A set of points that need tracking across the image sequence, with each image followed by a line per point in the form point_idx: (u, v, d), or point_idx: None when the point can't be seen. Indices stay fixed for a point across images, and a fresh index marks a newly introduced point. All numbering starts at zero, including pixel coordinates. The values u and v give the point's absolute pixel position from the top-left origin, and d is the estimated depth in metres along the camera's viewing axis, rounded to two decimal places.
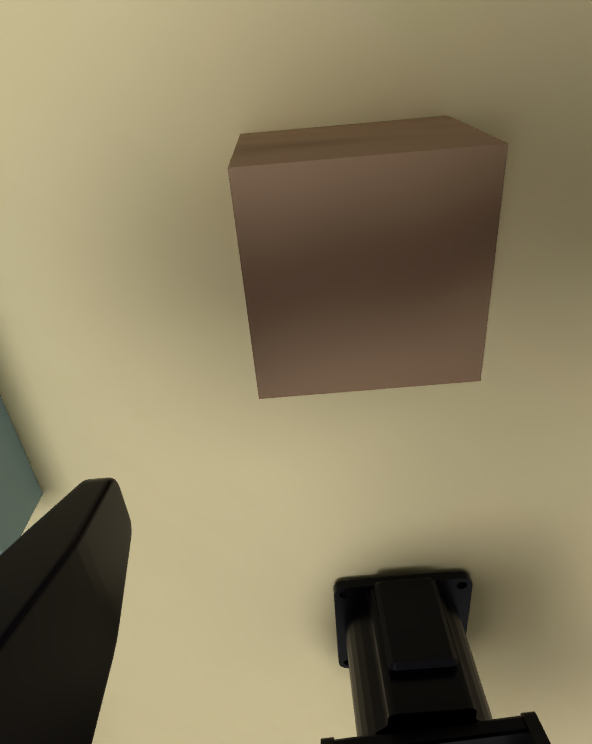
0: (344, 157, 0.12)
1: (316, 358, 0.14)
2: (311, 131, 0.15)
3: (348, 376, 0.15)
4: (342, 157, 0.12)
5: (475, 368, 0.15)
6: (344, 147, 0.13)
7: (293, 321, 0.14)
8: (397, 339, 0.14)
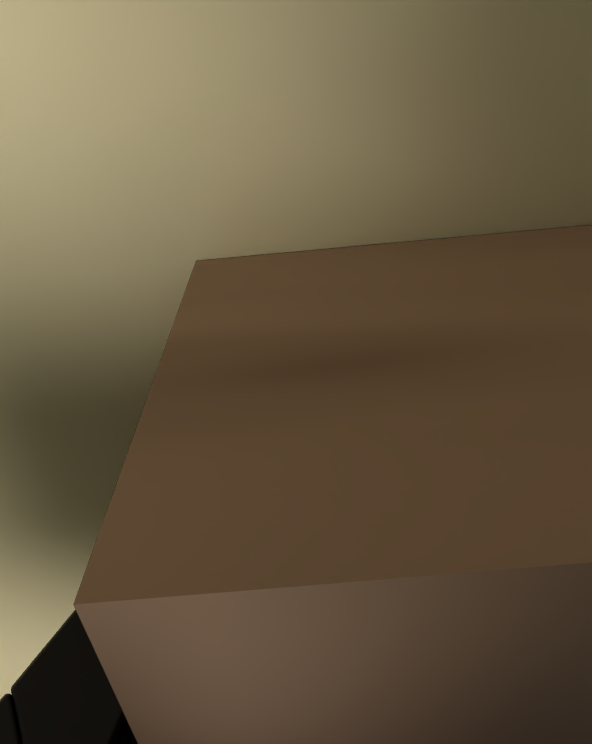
0: (568, 554, 0.03)
1: None
2: (363, 271, 0.06)
3: None
4: (559, 554, 0.03)
5: None
6: (510, 418, 0.04)
7: None
8: None
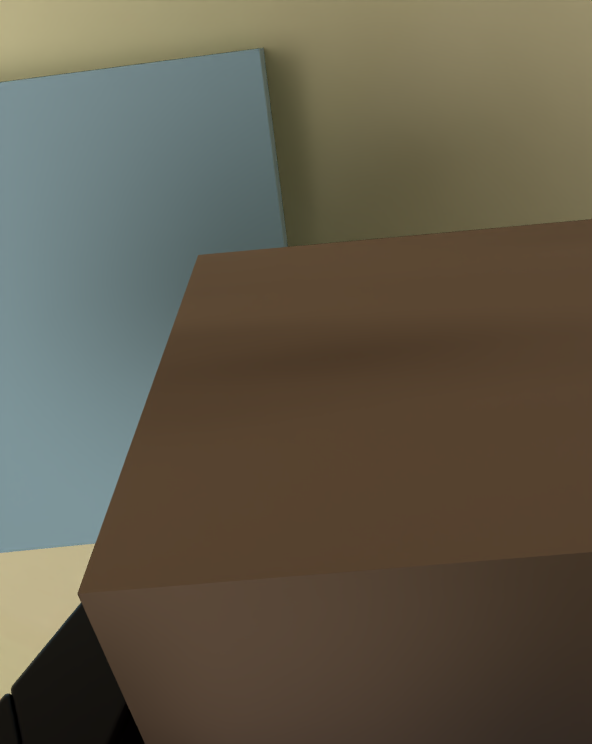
0: (579, 543, 0.03)
1: None
2: (366, 264, 0.06)
3: None
4: (570, 543, 0.03)
5: None
6: (518, 408, 0.04)
7: None
8: None
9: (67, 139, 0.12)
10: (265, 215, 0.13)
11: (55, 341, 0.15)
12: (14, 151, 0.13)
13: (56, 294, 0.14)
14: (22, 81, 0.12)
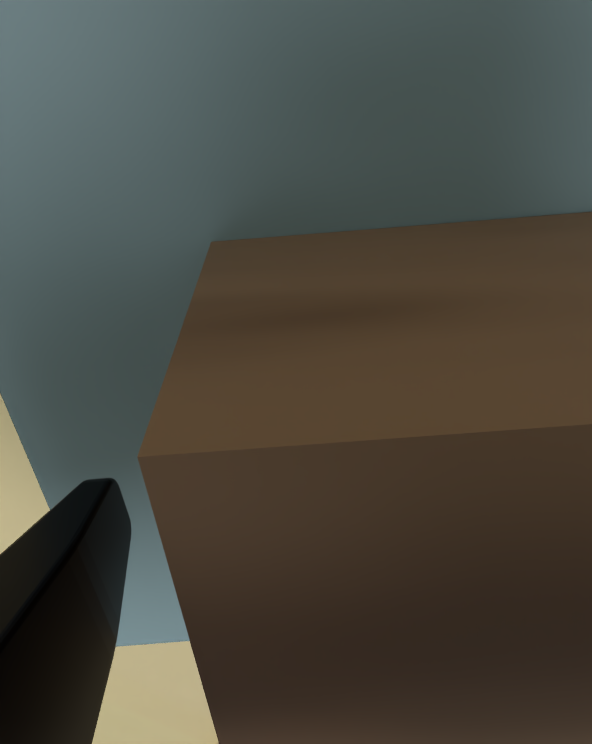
0: (480, 427, 0.04)
1: None
2: (352, 249, 0.07)
3: None
4: (474, 427, 0.04)
5: None
6: (455, 349, 0.05)
7: (317, 719, 0.06)
8: (549, 739, 0.06)
9: None
10: None
11: None
12: None
13: None
14: None
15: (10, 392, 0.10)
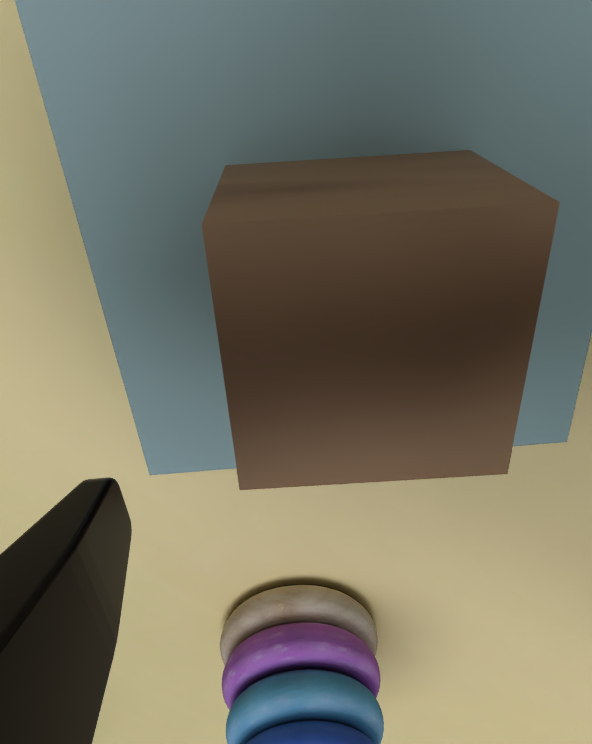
0: (351, 214, 0.09)
1: (310, 447, 0.12)
2: (309, 167, 0.13)
3: (348, 467, 0.12)
4: (348, 214, 0.09)
5: (502, 460, 0.12)
6: (350, 196, 0.10)
7: (282, 405, 0.11)
8: (409, 427, 0.12)
9: None
10: None
11: None
12: (400, 4, 0.12)
13: None
14: None
15: (96, 264, 0.15)
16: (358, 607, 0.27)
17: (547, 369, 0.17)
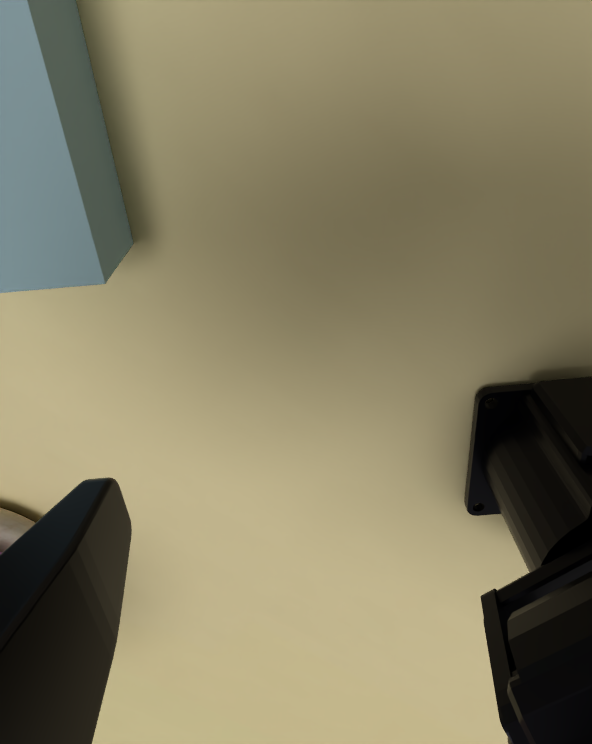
0: None
1: None
2: None
3: None
4: None
5: None
6: None
7: None
8: None
9: None
10: None
11: None
12: None
13: None
14: None
15: None
16: None
17: (30, 176, 0.14)
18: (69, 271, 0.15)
